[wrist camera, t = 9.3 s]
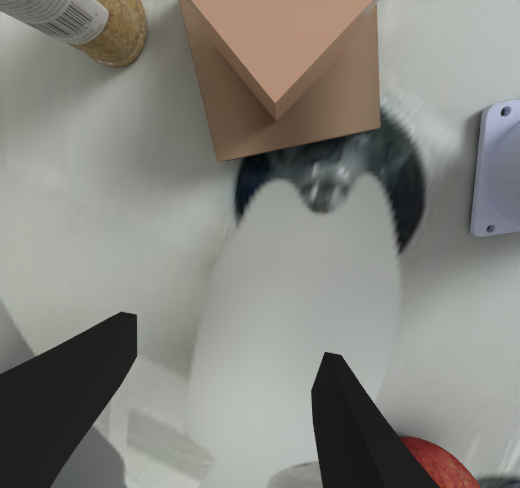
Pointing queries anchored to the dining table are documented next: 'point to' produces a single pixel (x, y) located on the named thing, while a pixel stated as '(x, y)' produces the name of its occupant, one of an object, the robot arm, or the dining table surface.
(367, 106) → the walnut box
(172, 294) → the dining table surface
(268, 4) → the terracotta block
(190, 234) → the dining table surface
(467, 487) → the fruit
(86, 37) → the sprinkles bottle
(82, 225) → the dining table surface
